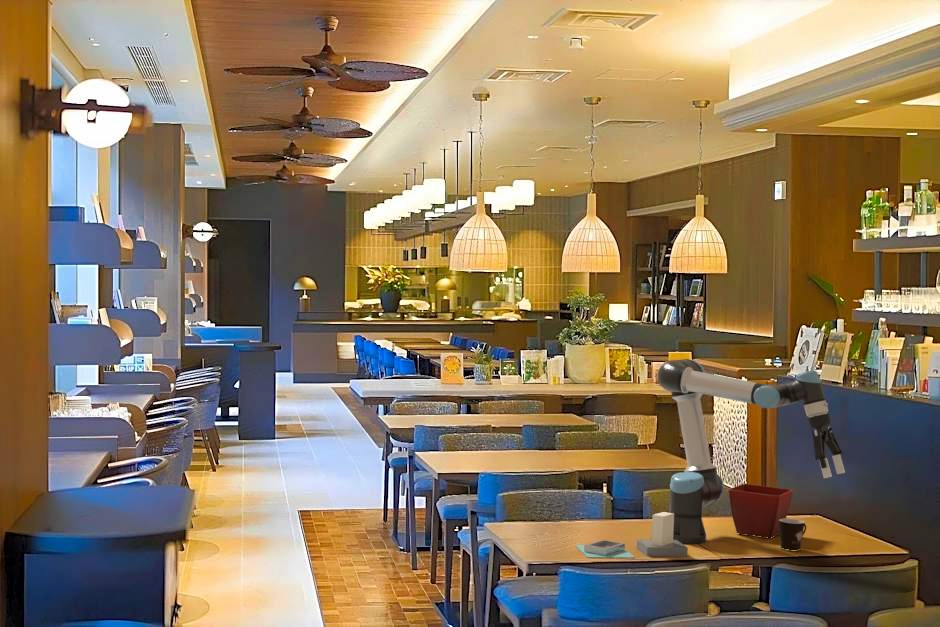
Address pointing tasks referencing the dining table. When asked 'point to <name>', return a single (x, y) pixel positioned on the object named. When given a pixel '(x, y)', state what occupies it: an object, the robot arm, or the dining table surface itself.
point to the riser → (662, 548)
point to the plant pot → (759, 509)
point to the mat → (616, 555)
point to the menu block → (662, 528)
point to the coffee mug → (791, 533)
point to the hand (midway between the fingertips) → (834, 475)
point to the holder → (604, 547)
